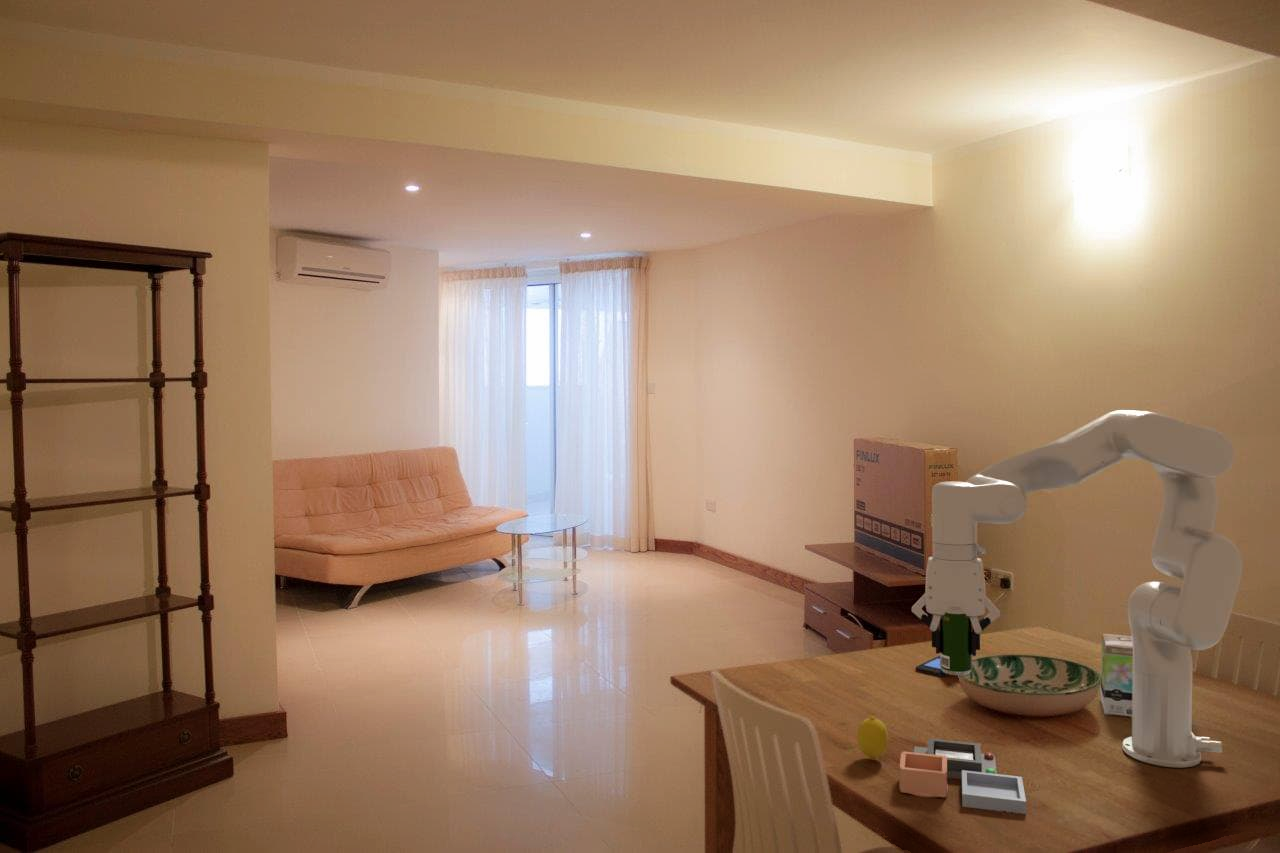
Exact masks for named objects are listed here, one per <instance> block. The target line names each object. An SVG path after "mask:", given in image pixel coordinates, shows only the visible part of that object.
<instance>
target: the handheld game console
mask: <svg viewBox="0 0 1280 853" xmlns="http://www.w3.org/2000/svg"><path fill="white" fill-rule="evenodd" d="M915 671H916V672H918V673H923V674H927V675H930V676H936V677H939V678H945V677H947V676H949V675H950V674H947V673H944V672H943V671H942V669H941V667H940V655H938V656H936V657H933V658H932V659H929V660H927V661H925V662H923V663H921V664H919V665H917V666H915Z"/></svg>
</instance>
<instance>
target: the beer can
mask: <svg viewBox="0 0 1280 853" xmlns="http://www.w3.org/2000/svg"><path fill="white" fill-rule="evenodd" d="M948 609H949V610H947V611H946V612H945V615H943V616H941V618H940V621H939V629H940V653H939V656H940V667H941V669H942V671H943V672H944V673H947V674H949V675H951V676H966V675H969V674H970V673H971V671H972V669H973V655H972V645H971V633H972V627H973V625H972V623H971V620H970V617H968V616H966V613H965V612H964V611H962V610H961V609H962V608H954V607H949V608H948Z"/></svg>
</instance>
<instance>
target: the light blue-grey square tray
mask: <svg viewBox="0 0 1280 853" xmlns="http://www.w3.org/2000/svg"><path fill="white" fill-rule="evenodd" d="M1026 798H1027V797H1026V793H1025V788H1024V781H1023V777H1022V776H1017V775H1008V774H1000V773H997V774H992V773H983V772H974V771H965V770H962V779H961V799H962V801H961V805H962V806H961V807H964V808H970V809H971V808H972V809H977V810H978V809H980V810H988V811H994V810H995V812H1003V811H1006V812H1005V813H1011V812H1013V813H1012V814H1019V813H1020V814H1021V815H1027V799H1026Z"/></svg>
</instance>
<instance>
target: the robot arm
mask: <svg viewBox="0 0 1280 853" xmlns="http://www.w3.org/2000/svg"><path fill="white" fill-rule="evenodd" d="M1127 459H1132V460H1138V461H1144V462H1148V463H1149V464H1150V465H1151V466H1152V467H1153V468H1154V470H1155V471H1156V473H1157V475H1158V476H1159V478H1160V481H1161V482H1162V483H1161V484H1162V486H1163V491H1164V492H1163V494H1164V495H1163V496H1164V498H1163V503H1162V509H1161V511H1160V516H1159V520H1158V522H1157V526H1156V531H1155V534H1154V538H1153V542H1152V546H1151V551H1150V561H1151V564H1152V565H1153V566H1154V568H1155V569H1156V570H1157V571H1159V572H1160V573H1162V574H1163V575H1166V576H1169V577H1171V578H1174V579H1177V580H1180V581H1182V584H1181V587H1180V586H1176V585H1174V584H1171V583H1167V582H1163V581H1147V582H1143V583H1142V584H1140V585H1138V586H1137V587H1135V588H1134V589H1133V591H1132V592H1131V594H1130V595H1129V598H1128V601H1127V618H1128V624H1129V627H1130V636H1132V645H1133V676H1132V717H1131V736H1129V737H1126V738H1124V739H1123V740H1122V744H1121V747H1122V750H1123V751H1124V753H1125V754H1127V755H1128V756H1129V757H1131V758H1133V759H1135V760H1138V761H1139V762H1142V763H1146V764H1150V765H1154V766H1157V767H1166V768H1176V769H1178V768H1181V769H1183V768H1191V767H1194V766H1197V765H1198V764H1200V763H1201V761H1202V754H1201V753H1202V752H1203V751H1207V752H1210V753H1219V754H1220V753H1223V743H1222V741H1217V740H1211V737H1208V736H1196V735H1195V734H1194V732H1193V731H1192V726H1193V725H1192V723H1193V722H1192V716H1193V710H1192V709H1193V706H1192V705H1193V656H1192V651H1191V650H1194V651H1203V650H1208V649H1210V648H1212V647H1214V646H1216V645H1217V643H1219V642H1220V641H1221V639H1222V637H1223V636H1224V635H1225V633H1226V630H1227V628H1228V625H1229V622H1230V619H1231V615H1232V611H1233V608H1234V604H1235V600H1236V597H1237V593H1238V588H1239V586H1240V583H1241V578H1242V573H1243V560H1242V555H1241V552H1240V550H1239V548H1238V547H1237V545H1236V544H1235V543H1234V542H1233V541H1232V540H1231V539H1230V538H1228V537H1226V536H1224V535H1221V534H1218V533H1215V532H1214V528H1215V522H1216V520H1217V519H1216V518H1217V512H1218V508H1219V495H1218V489H1217V485H1216V482H1215V481H1214V478H1217V477H1218V478H1219V477H1221V476H1222V475H1224V474H1226V473H1227V472H1228V471H1229V470H1230V469H1231V467H1232V466H1233V463H1234V461H1235V448H1234V446H1233V443H1232V442H1231V441H1230V439H1229V437H1227V435H1225V434H1223V433H1222V432H1220V431H1219V430H1215V429H1212V428H1209V427H1206V426H1202V425H1198V424H1195V423H1191V422H1187V421H1184V420H1181V419H1177V418H1174V417H1172V416H1171V417H1170V416H1168V415H1164V414H1161V413H1157V412H1152V411H1146V410H1143V411H1142V410H1130V409H1126V410H1125V409H1120V410H1119V409H1118V410H1114V411H1110V412H1107V413H1106V414H1104V415H1101V416H1100V417H1098V418H1096V419H1094V420H1092V421H1090V422H1088V423H1086V424H1084V425H1082V426H1081V427H1079V428H1077V429H1075V430H1074V431H1071V432H1070V433H1068V434H1066V435H1064V436H1062V437H1059V439H1056V440H1054V441H1053V442H1049V443H1048V444H1044V445H1041V446H1039V447H1035V448H1032V449H1030V450H1027V451H1024V452H1022V453H1017V454H1016V455H1013V456H1011V457H1007V458H1005V459H1003V460H1000V461H997V462H996V463H994V464H992V465H990V466H987V468H985V469H982V470H981V471H979V472H977V473H975V474H973V475H971V476H970V477H969V478H968V479H967V480H966V481H956V480H955V481H953V480H952V481H940V482H938V483H936V484H934V485H933V486H932V490H931V517H932V518H931V521H932V523H931V525H932V526H931V527H932V528H931V530H932V533H931V534H932V536H931V537H932V542H931V543H932V556H929V557H928V560H927V562H926V564H927V565H926V573H925V589H924V590H925V591H924V593H923V594H922V596H921V597H920V598H919V599H918V600H917V601H916V602H915V603H914V604H913V605H912V606H911V612H912V613H913V614H914V615H916V617H917V618H919V620H921V622H923V623H924V624H925V625H926V626H927V627H928V628H929V630H930V631H931V648H935V654H938V655H940V618H941V616H943V615H945V612H946V611H947V610H949V609H948V608H949V607H954V608H962V609H961V610H962V611H964V612H965V613H966V616H968V617H970V620H971V623H972V633H971V645H972V657H977V651H981V633H982V632H983V631H984V630H985V629H986V628H987V627H988V626H990V624H992V622H994V621H995V620H997V619H998V618H999V617H1000V616H1001V611H1000V610H999V609H998V607H996V605H995V604H994V603H993V602H992V601H991V599H989V597H988V596H987V595H986V594H987V593H986V582H985V580H986V578H985V573H984V572H985V571H984V565H983V560H982V558H979V556H980V555H982V554H984V555H986V554H987V546H985V545H981V544H980V543H978V523H986V524H987V523H989V524H996V525H997V524H998V525H1008V524H1012V523H1014V522H1016V521H1019V520H1020V519H1021V518H1022V517H1023V516H1024V515H1025V513H1026V511H1027V509H1028V498H1027V495H1026V494H1028V493H1032V492H1036V491H1041V490H1050V489H1062V488H1069V487H1073V486H1078V485H1079V484H1081V483H1083V482H1085V481H1087V480H1089V479H1090V478H1092V477H1094V476H1096V475H1097V474H1100V473H1102V472H1103V471H1105V470H1108V469H1109V468H1112V466H1115V465H1117V464H1119V463H1121V462H1123V461H1124V460H1127ZM923 607H925V609H926V610H925V611H926V612H927V613H926V612H925V611H924V610H923ZM986 609H987V610H988V611H989V613H987V614H986ZM929 614H930V615H932V617H931V616H930V615H929ZM985 614H986V615H985ZM984 615H985V616H984ZM980 617H982V618H981V619H979V618H980Z"/></svg>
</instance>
